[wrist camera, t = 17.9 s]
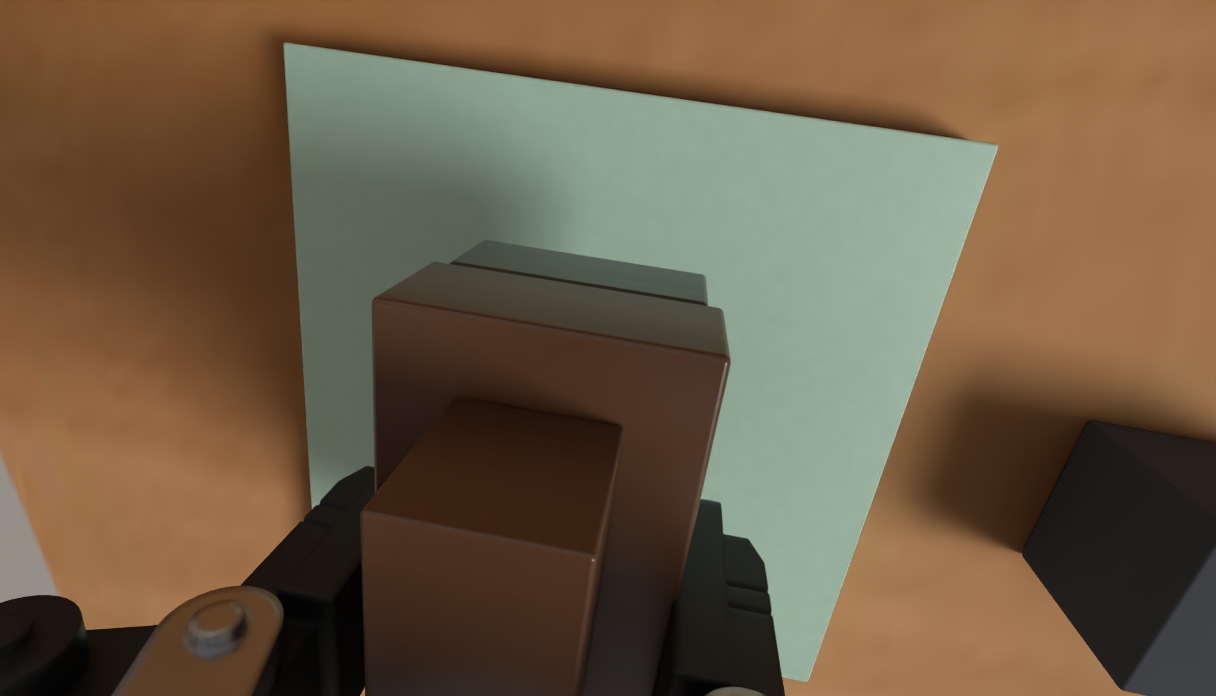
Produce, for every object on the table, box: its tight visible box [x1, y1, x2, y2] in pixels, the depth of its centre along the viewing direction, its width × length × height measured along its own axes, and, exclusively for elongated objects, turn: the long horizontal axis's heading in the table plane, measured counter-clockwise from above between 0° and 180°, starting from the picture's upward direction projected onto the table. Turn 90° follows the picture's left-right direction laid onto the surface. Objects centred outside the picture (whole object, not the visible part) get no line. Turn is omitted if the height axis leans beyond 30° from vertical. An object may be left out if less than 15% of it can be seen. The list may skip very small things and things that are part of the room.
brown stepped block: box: [360, 240, 731, 696], centre depth 9 cm, size 9×4×6 cm, turn 173°
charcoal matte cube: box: [1022, 421, 1216, 696], centre depth 13 cm, size 4×4×4 cm
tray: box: [283, 43, 998, 682], centre depth 15 cm, size 14×14×1 cm
